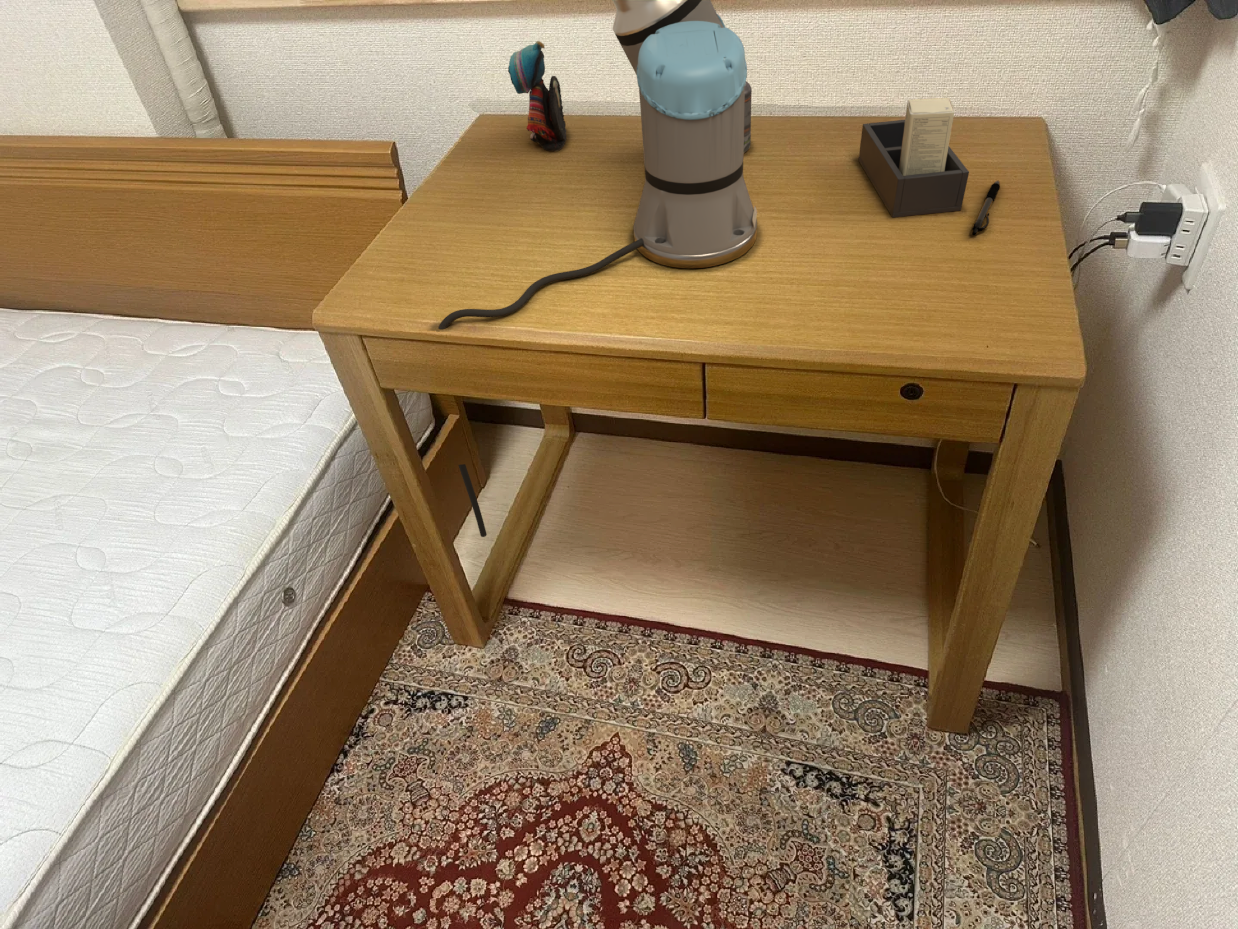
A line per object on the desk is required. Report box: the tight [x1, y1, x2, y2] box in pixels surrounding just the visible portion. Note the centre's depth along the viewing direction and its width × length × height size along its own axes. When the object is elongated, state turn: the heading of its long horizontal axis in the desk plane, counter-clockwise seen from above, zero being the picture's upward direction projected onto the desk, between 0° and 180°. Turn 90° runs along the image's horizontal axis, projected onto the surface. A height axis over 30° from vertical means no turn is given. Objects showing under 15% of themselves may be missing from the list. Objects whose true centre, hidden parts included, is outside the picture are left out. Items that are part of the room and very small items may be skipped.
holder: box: [858, 119, 970, 218], centre depth 110 cm, size 9×16×5 cm, turn 3°
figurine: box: [507, 40, 567, 152], centre depth 126 cm, size 10×7×15 cm
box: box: [899, 97, 955, 176], centre depth 105 cm, size 5×4×11 cm
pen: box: [971, 180, 1001, 237], centre depth 105 cm, size 14×2×1 cm, turn 152°
